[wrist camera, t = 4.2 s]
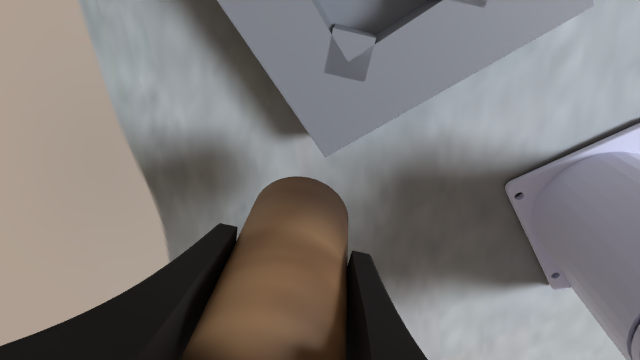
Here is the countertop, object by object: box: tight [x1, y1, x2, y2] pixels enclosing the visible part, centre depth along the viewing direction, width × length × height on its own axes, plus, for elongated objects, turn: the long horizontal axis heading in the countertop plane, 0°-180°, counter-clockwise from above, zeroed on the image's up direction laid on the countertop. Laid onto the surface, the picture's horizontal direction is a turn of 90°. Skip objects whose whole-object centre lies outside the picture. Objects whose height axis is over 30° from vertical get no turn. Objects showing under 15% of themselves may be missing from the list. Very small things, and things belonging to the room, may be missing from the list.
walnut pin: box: [181, 177, 348, 360], centre depth 11 cm, size 4×4×7 cm
